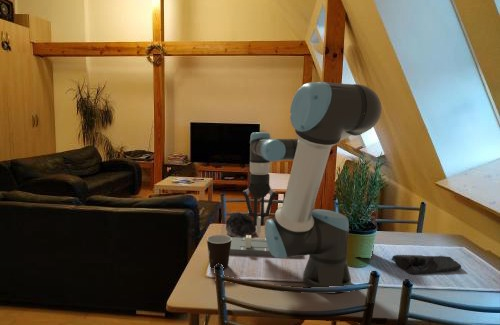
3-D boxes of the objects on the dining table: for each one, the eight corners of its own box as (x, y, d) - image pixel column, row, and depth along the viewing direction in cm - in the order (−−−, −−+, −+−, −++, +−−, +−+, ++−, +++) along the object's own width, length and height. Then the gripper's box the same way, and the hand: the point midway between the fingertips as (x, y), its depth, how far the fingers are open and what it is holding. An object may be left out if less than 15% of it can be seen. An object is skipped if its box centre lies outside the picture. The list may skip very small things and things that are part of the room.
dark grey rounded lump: (259, 238, 153) (261, 216, 153) (229, 238, 149) (231, 215, 149) (250, 231, 166) (252, 210, 165) (222, 231, 162) (224, 210, 161)
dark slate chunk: (468, 275, 121) (469, 262, 120) (407, 276, 119) (408, 263, 119) (441, 257, 136) (442, 246, 135) (386, 258, 134) (387, 246, 134)
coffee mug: (227, 272, 118) (227, 244, 116) (203, 269, 119) (203, 242, 118) (235, 259, 129) (236, 233, 128) (213, 256, 131) (213, 231, 129)
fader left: (250, 248, 134) (250, 237, 134) (245, 247, 134) (245, 237, 134) (251, 245, 137) (251, 234, 137) (246, 244, 137) (246, 234, 137)
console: (302, 257, 132) (302, 252, 132) (228, 254, 133) (228, 249, 133) (298, 244, 145) (299, 239, 145) (232, 241, 147) (232, 236, 146)
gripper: (276, 172, 135) (275, 231, 138) (243, 171, 136) (242, 230, 138) (277, 174, 128) (275, 237, 130) (241, 174, 128) (241, 236, 131)
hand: (258, 233), depth 134 cm, fingers closed
